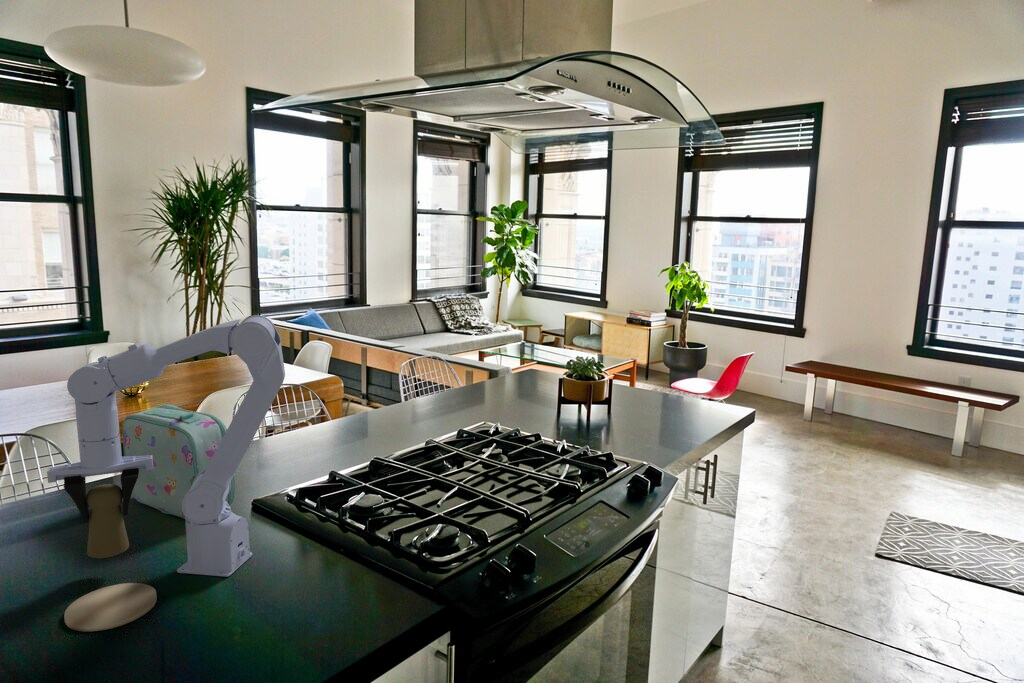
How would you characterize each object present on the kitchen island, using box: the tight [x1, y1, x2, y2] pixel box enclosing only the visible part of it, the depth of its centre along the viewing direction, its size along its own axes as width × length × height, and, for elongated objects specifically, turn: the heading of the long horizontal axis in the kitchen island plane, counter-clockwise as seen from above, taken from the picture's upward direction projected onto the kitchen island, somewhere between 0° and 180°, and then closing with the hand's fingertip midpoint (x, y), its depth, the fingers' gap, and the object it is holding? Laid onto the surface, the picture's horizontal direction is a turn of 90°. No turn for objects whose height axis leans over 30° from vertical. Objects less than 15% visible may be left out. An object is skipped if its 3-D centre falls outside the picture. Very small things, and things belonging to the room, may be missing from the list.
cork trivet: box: [63, 582, 158, 632], centre depth 100 cm, size 12×12×1 cm
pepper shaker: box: [86, 483, 130, 559], centre depth 109 cm, size 6×6×11 cm
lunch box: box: [122, 404, 236, 520], centre depth 137 cm, size 27×10×21 cm, turn 61°
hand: (106, 516), depth 109 cm, fingers closed on pepper shaker, 5 cm apart
